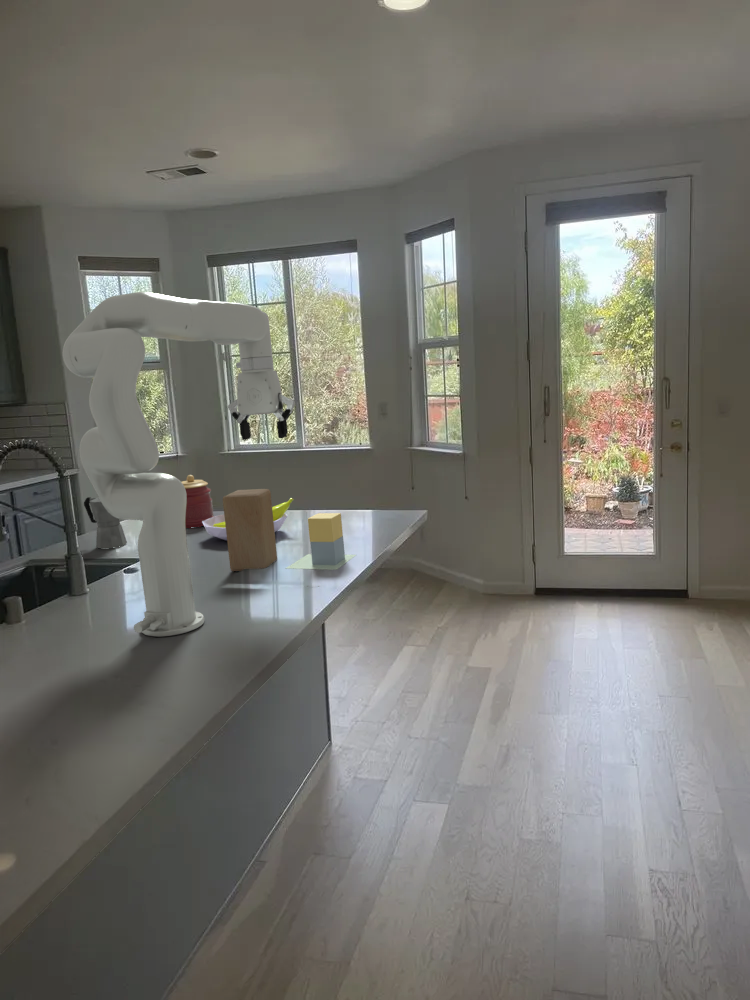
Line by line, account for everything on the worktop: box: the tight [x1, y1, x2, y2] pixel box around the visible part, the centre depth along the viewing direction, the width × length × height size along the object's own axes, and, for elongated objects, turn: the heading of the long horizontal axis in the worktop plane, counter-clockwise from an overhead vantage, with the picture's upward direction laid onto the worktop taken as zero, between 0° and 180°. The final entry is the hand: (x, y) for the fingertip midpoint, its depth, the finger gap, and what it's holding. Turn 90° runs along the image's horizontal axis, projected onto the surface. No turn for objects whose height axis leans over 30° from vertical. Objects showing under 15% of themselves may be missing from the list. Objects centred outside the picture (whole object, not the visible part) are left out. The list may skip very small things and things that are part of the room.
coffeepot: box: [83, 496, 128, 549], centre depth 231 cm, size 15×9×18 cm, turn 67°
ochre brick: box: [307, 512, 344, 542], centre depth 187 cm, size 6×6×6 cm
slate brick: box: [309, 535, 346, 565], centre depth 188 cm, size 6×6×6 cm
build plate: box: [284, 553, 357, 571], centre depth 189 cm, size 14×14×1 cm
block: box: [222, 488, 278, 572], centre depth 191 cm, size 10×10×20 cm
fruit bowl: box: [202, 497, 295, 541], centre depth 230 cm, size 28×27×11 cm
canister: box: [181, 474, 215, 529], centre depth 254 cm, size 13×13×18 cm
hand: (264, 438), depth 176 cm, fingers open, 9 cm apart
